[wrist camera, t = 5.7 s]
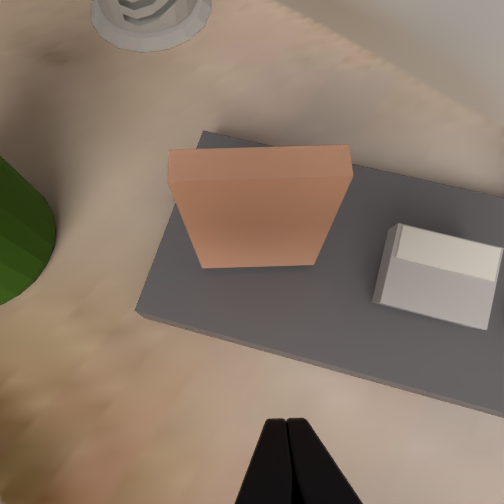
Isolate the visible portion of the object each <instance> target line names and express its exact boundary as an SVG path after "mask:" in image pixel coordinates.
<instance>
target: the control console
mask: <svg viewBox="0 0 504 504" xmlns="http://www.w3.org/2000/svg"><path fill="white" fill-rule="evenodd" d="M248 147H275V146H270V145H266V144H261V143H257V142H252V141H248V140H243V139H239V138H234V137H230V136H226V135H221V134H217V133H212V132H208V131H203V133H202V135H201V138H200V141H199V143H198V146H197V148H196V149H214V148H248ZM352 169H353V178H352V180H351V182H350V185H349V187H348V189H347V191H346V194H345V196H344V198H343V200H342V203H341V205H340V207H339V209H338V212H337V214H336V216H335V218H334V221H333V223H332V225H331V227H330V230H329V232H328V234H327V236H326V239H325V241H324V243H323V245H322V248H321V250H320V252H319V254H318V257H317V259H316V261H315V263H314V265H297V266H265V267H232V268H202V267H201V264H200V262H199V259H198V257H197V254H196V252H195V249H194V247H193V244H192V242H191V239H190V237H189V234H188V232H187V229H186V227H185V224H184V222H183V219H182V217H181V214H180V212H179V209H178V207H177V204H175V206H174V209H173V211H172V214H171V217H170V219H169V222H168V225H167V227H166V230H165V232H164V235H163V238H162V240H161V243H160V245H159V248H158V251H157V253H156V256H155V259H154V261H153V264H152V266H151V269H150V272H149V274H148V277H147V280H146V282H145V285H144V287H143V290H142V293H141V295H140V298H139V301H138V303H137V306H136V308H135V311H136V312H137V313H138V314H140V315H141V316H143V317H144V318H147V319H150V320H154V321H157V322H161V323H165V324H168V325H172V326H175V327H179V328H183V329H186V330H190V331H193V332H197V333H201V334H204V335H208V336H211V337H215V338H219V339H222V340H226V341H229V342H233V343H237V344H240V345H244V346H247V347H251V348H255V349H258V350H262V351H265V352H269V353H273V354H276V355H280V356H283V357H287V358H291V359H294V360H298V361H301V362H305V363H309V364H312V365H316V366H319V367H323V368H327V369H330V370H334V371H337V372H341V373H345V374H348V375H352V376H355V377H359V378H363V379H366V380H370V381H373V382H377V383H381V384H384V385H388V386H391V387H395V388H399V389H402V390H406V391H409V392H413V393H417V394H420V395H424V396H427V397H431V398H435V399H438V400H442V401H445V402H449V403H453V404H456V405H460V406H463V407H467V408H471V409H474V410H478V411H481V412H485V413H489V414H492V415H496V416H499V417H503V418H504V249H503V254H502V259H501V264H500V269H499V274H498V278H497V283H496V288H495V293H494V298H493V303H492V307H491V312H490V317H489V322H488V327H487V330H482V329H477V328H471V327H466V326H463V325H459V324H455V323H451V322H447V321H443V320H439V319H435V318H432V317H428V316H424V315H420V314H416V313H412V312H408V311H404V310H400V309H397V308H393V307H389V306H385V305H381V304H377V303H373V302H372V298H373V294H374V290H375V285H376V281H377V277H378V272H379V268H380V264H381V259H382V255H383V251H384V247H385V242H386V238H387V234H388V229H390V228H391V227H393V226H395V225H396V224H398V223H401V224H405V225H409V226H413V227H417V228H422V229H426V230H430V231H434V232H439V233H443V234H447V235H451V236H455V237H460V238H464V239H468V240H472V241H477V242H481V243H485V244H489V245H494V246H498V247H502V248H504V198H502V197H497V196H493V195H488V194H484V193H479V192H475V191H471V190H466V189H462V188H457V187H453V186H448V185H444V184H439V183H435V182H430V181H426V180H422V179H417V178H413V177H408V176H404V175H399V174H395V173H390V172H386V171H381V170H377V169H373V168H368V167H364V166H359V165H355V164H352Z"/></svg>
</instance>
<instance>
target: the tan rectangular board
mask: <svg viewBox="0 0 504 504" xmlns="http://www.w3.org/2000/svg"><path fill="white" fill-rule="evenodd" d="M352 178H353V169H352V162H351V155H350V148H349V145H316V146H282V147H248V148H214V149H180V150H169V158H168V178H167V182H168V184H169V187H170V189H171V192H172V194H173V197H174V199H175V202H176V204H177V207H178V209H179V212H180V214H181V217H182V219H183V222H184V224H185V227H186V229H187V232H188V234H189V237H190V239H191V242H192V244H193V247H194V249H195V252H196V254H197V257H198V259H199V262H200V264H201V267H202V268H232V267H265V266H297V265H314V263H315V261H316V259H317V257H318V254H319V252H320V250H321V248H322V245H323V243H324V241H325V239H326V236H327V234H328V232H329V230H330V227H331V225H332V223H333V221H334V218H335V216H336V214H337V212H338V209H339V207H340V205H341V203H342V200H343V198H344V196H345V194H346V191H347V189H348V187H349V185H350V182H351V180H352Z"/></svg>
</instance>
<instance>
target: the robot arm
mask: <svg viewBox="0 0 504 504" xmlns="http://www.w3.org/2000/svg"><path fill="white" fill-rule="evenodd" d="M235 504H363V503H362V502H361V500H360V499H359V497H358V496H357V494H356V493H355V491H354V490H353V488H352V487H351V485H350V484H349V482H348V481H347V479H346V478H345V476H344V475H343V473H342V472H341V470H340V469H339V467H338V466H337V464H336V463H335V461H334V460H333V458H332V457H331V455H330V454H329V452H328V451H327V449H326V448H325V446H324V445H323V443H322V442H321V440H320V439H319V437H318V436H317V434H316V433H315V431H314V430H313V428H312V427H311V425H310V424H309V422H308V421H307V420H306V419H305V418H289V419H287V421H285V419H282V418H279V419H267V420H266V422H265V424H264V426H263V429H262V432H261V434H260V437H259V440H258V442H257V445H256V448H255V450H254V453H253V456H252V458H251V461H250V464H249V466H248V469H247V472H246V474H245V477H244V480H243V482H242V485H241V488H240V491H239V493H238V496H237V499H236V501H235Z"/></svg>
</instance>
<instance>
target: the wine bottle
mask: <svg viewBox="0 0 504 504" xmlns="http://www.w3.org/2000/svg"><path fill="white" fill-rule="evenodd" d="M55 233H56V231H55V225H54V219H53V214H52V211H51V209H50V207H49V206H48V204H47V202H46V200H45V198H44V197H43V196H42V195H41V194H40V193H39V192H38V191H37V190H36V189H35V188H33V187H32V186H31V185H30V184H29V183H28V182H27V181H26V180H25V179H24V178H23V177H22V176H21V175H20V174H19V173H18V172H17V171H16V170H15V169H14V168H13V167H11V166H10V165H9V164H8V163H7V162H6V161H5V160H4V159H3V158H2V157H1V156H0V305H2V304H4V303H6V302H7V301H9V300H11V299H13V298H14V297H16V296H18V295H20V294H21V293H22V292H23V291H24V290H25V289H27V288H28V287H29V286H30V285H31V284H32V283H33V282H34V281H35V280H36V279H37V278H38V276H39V275H40V273H41V272H42V271H43V269H44V268H45V267H46V265H47V263H48V260H49V258H50V256H51V253H52V251H53V248H54V241H55Z"/></svg>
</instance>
